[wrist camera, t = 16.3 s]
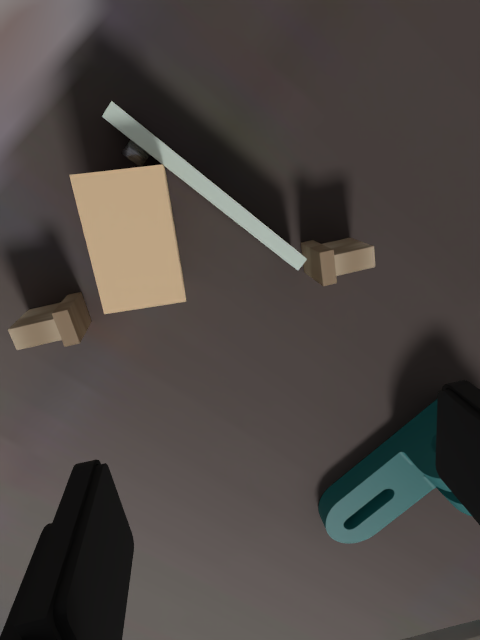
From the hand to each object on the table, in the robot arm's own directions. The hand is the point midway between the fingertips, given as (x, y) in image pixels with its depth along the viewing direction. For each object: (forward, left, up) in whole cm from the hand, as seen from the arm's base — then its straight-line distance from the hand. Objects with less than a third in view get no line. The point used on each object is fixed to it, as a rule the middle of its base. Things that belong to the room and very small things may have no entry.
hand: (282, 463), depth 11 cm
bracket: (-14, +24, -22) cm, 35 cm away
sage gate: (-1, -6, -21) cm, 22 cm away
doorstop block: (+4, -5, -21) cm, 22 cm away
